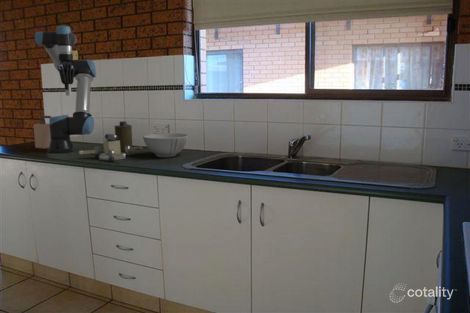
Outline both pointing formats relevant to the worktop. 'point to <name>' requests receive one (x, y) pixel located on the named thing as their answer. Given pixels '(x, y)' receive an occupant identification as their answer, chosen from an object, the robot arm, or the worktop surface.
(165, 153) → the decorative bowl
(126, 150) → the knob
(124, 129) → the canister
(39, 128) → the soap dispenser
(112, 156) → the knob
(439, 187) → the worktop surface
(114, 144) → the tribrach plate
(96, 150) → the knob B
